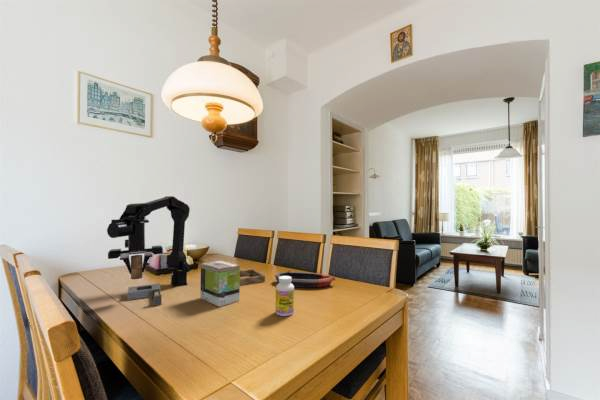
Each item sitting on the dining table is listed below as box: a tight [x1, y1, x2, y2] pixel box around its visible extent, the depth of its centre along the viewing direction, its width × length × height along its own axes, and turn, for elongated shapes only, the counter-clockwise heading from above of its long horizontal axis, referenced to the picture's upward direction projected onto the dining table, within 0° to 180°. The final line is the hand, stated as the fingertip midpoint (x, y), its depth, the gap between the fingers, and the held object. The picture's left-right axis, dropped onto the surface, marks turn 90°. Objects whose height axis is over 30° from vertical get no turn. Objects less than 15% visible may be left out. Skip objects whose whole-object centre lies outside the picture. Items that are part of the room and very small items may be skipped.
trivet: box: [240, 268, 266, 286], centre depth 141 cm, size 17×17×3 cm
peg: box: [130, 254, 143, 280], centre depth 109 cm, size 4×4×9 cm
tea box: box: [199, 260, 241, 307], centre depth 111 cm, size 15×10×15 cm, turn 47°
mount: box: [127, 283, 162, 301], centre depth 117 cm, size 12×9×3 cm
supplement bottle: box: [275, 276, 295, 317], centre depth 97 cm, size 7×7×13 cm
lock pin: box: [152, 290, 163, 306], centre depth 109 cm, size 3×12×3 cm, turn 30°
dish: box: [274, 270, 336, 289], centre depth 134 cm, size 16×31×5 cm, turn 75°
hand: (136, 272), depth 109 cm, fingers closed on peg, 4 cm apart
